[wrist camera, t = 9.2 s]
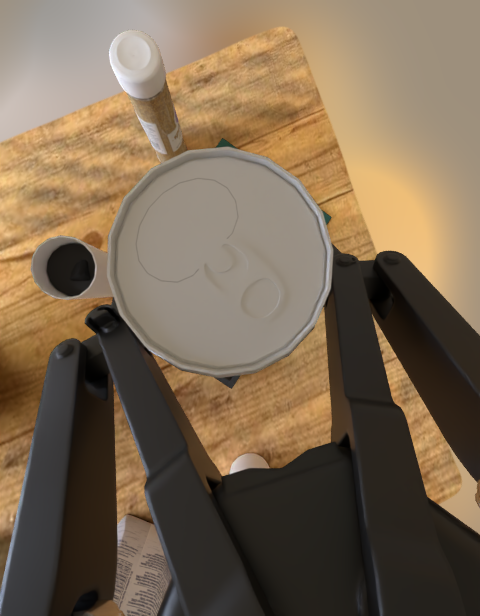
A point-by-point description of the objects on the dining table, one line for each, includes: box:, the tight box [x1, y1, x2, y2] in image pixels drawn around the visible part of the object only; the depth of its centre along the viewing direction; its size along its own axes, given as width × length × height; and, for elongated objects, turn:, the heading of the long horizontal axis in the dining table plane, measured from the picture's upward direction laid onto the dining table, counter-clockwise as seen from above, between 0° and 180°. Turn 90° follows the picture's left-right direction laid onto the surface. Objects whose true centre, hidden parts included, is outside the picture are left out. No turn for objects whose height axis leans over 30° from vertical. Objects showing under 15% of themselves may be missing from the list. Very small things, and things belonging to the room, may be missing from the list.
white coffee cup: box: [31, 236, 114, 300], centre depth 28 cm, size 7×7×10 cm
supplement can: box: [107, 147, 333, 378], centre depth 14 cm, size 8×8×15 cm
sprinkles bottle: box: [109, 30, 187, 163], centre depth 26 cm, size 5×5×14 cm
